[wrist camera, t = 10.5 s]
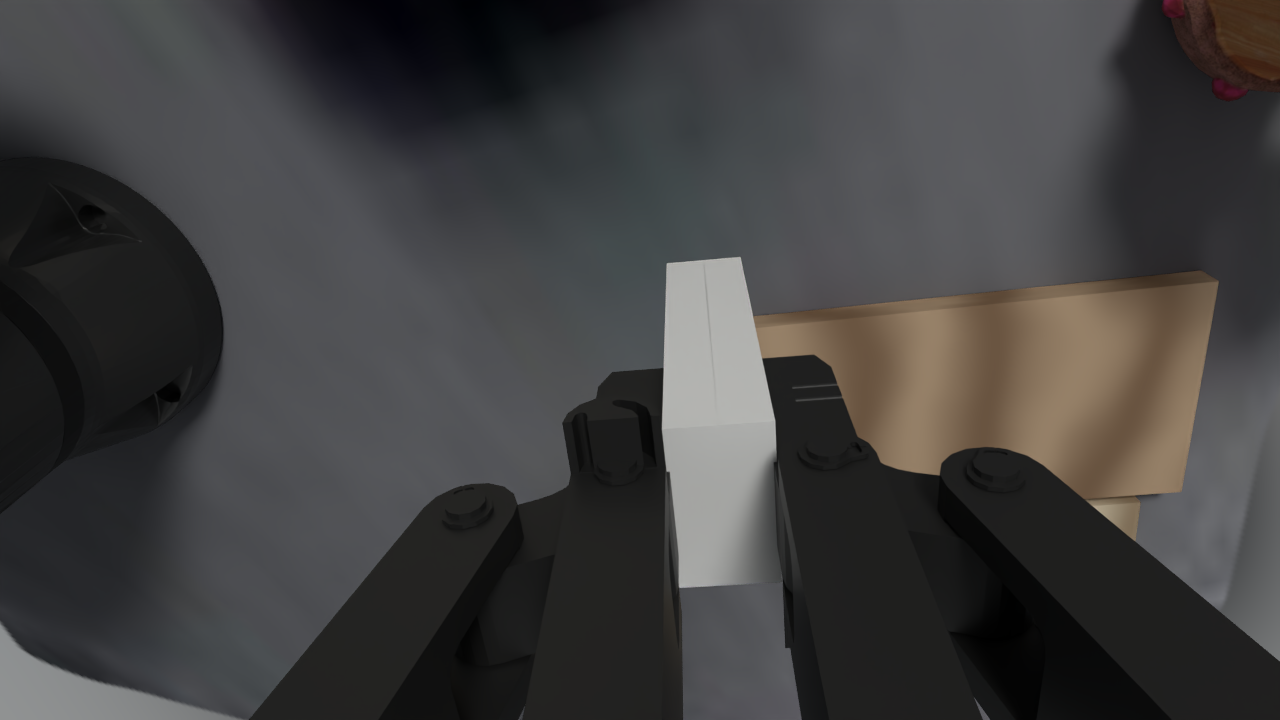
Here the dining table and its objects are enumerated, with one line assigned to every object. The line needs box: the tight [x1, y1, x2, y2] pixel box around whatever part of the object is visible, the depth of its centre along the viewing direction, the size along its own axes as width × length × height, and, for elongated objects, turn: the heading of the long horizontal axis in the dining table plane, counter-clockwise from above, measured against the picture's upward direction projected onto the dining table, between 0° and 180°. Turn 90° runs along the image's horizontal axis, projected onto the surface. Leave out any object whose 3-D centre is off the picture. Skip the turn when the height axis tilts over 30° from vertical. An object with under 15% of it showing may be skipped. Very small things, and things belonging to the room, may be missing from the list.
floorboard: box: [753, 270, 1219, 499], centre depth 43 cm, size 22×12×2 cm, turn 98°
